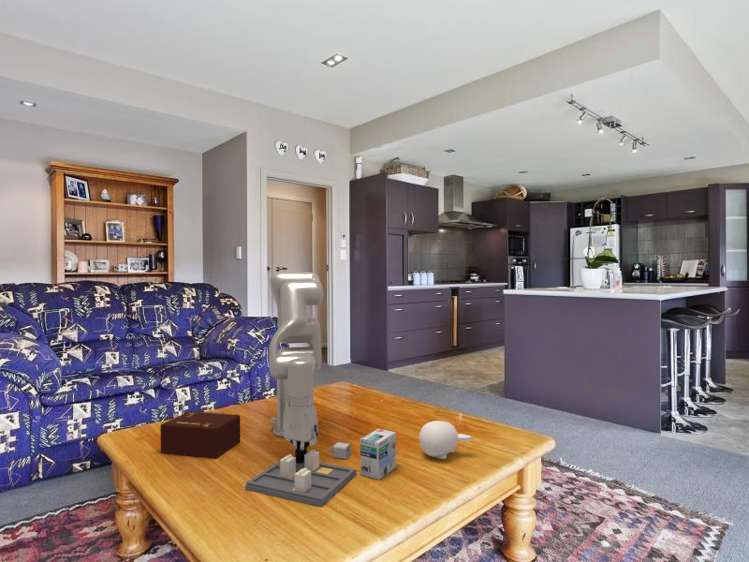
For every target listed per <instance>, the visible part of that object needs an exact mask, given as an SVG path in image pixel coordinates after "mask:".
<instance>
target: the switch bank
mask: <svg viewBox="0 0 749 562" xmlns="http://www.w3.org/2000/svg"><path fill="white" fill-rule="evenodd" d="M304 468H305V461H304V462H303V463H301V464H299V463H296V473H297V472H298V471H300V470H301V469H304ZM356 475H357V469H356V468H351V467H347V466H340V465H334V464H330V463H326V462H325V463H324V462H321V461H319V468H317V469H316V470H315V471H311V488H310V489H308V490H307V491H306V492H305V493H303V492H299V491H295V473H294V474H293V475H291V476H290V477H285V476H281V475H280V460H279V461H278V462H276V463H274V464H273V465H271V466H270V467H268V468H266V469H265V470H263V471H262V472H260V473H259V474H257V475H255V476H253V477H252V478H250V479H249V480H247V481H246V482H245V487H244V488H245V491H246V490H247V491H251V492H254V493H259V494H263V495H268V496H272V497H276V498H281V499H285V500H288V501H289V500H290V501H293V502H298V503H301V504H307V505H311V506H314V507H320V508H322V507H323V506H324V505H325V504H327V502H329V501H330V500H331V499H332V498H333V497H334V496H335V495H337V493H339V491H341V489H343V488H344V487H345V486H346V485H347V484H348V483H349V482H350V481H352V480H353V479H354V478H355V477H356Z"/></svg>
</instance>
